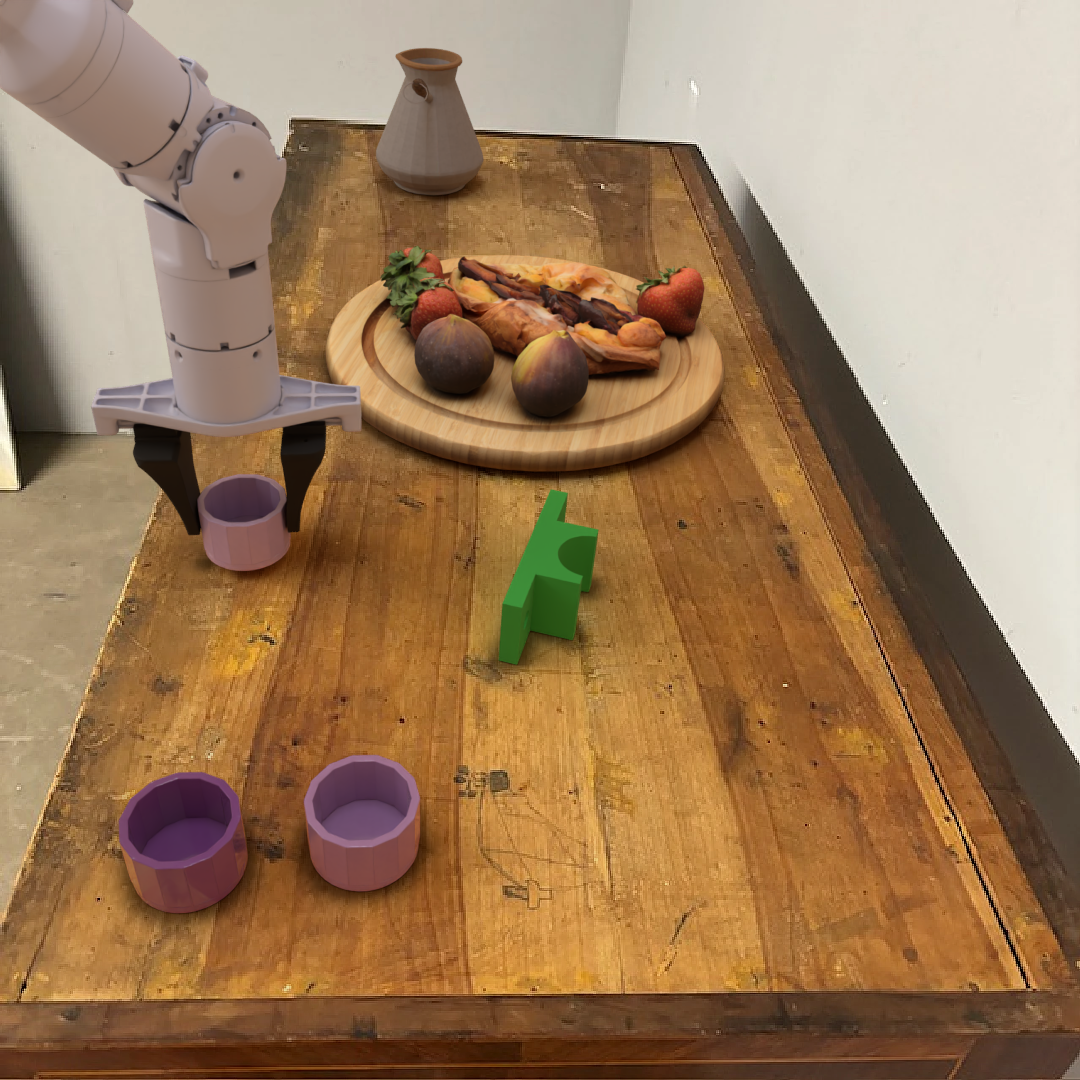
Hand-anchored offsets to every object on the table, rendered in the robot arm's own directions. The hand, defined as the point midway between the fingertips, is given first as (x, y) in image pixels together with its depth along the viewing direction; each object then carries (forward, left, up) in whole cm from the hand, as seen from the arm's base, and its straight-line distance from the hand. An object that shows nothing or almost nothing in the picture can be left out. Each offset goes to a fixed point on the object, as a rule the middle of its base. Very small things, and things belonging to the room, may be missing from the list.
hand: (246, 523), depth 66 cm
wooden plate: (+24, +19, -2) cm, 31 cm away
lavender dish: (0, 0, -2) cm, 2 cm away
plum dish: (-5, -22, -2) cm, 23 cm away
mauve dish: (+3, -23, -2) cm, 23 cm away
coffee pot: (+23, +54, -2) cm, 59 cm away
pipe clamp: (+17, -9, -2) cm, 19 cm away
